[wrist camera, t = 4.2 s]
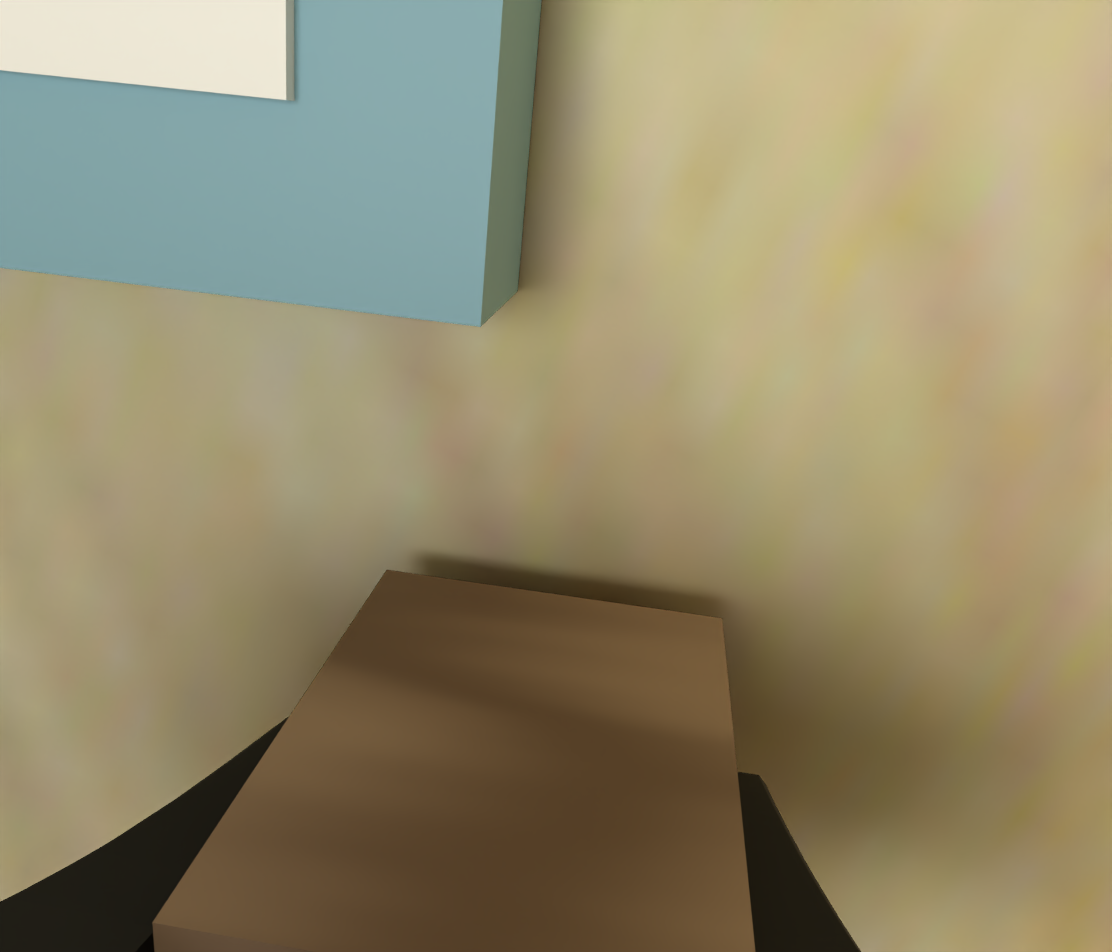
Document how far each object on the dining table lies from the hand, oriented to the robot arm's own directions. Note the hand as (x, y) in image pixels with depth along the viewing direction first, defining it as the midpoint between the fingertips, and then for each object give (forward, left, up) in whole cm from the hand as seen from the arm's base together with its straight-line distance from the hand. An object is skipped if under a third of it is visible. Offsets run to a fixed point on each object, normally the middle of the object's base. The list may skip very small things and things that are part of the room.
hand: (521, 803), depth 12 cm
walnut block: (0, 0, -1) cm, 1 cm away
